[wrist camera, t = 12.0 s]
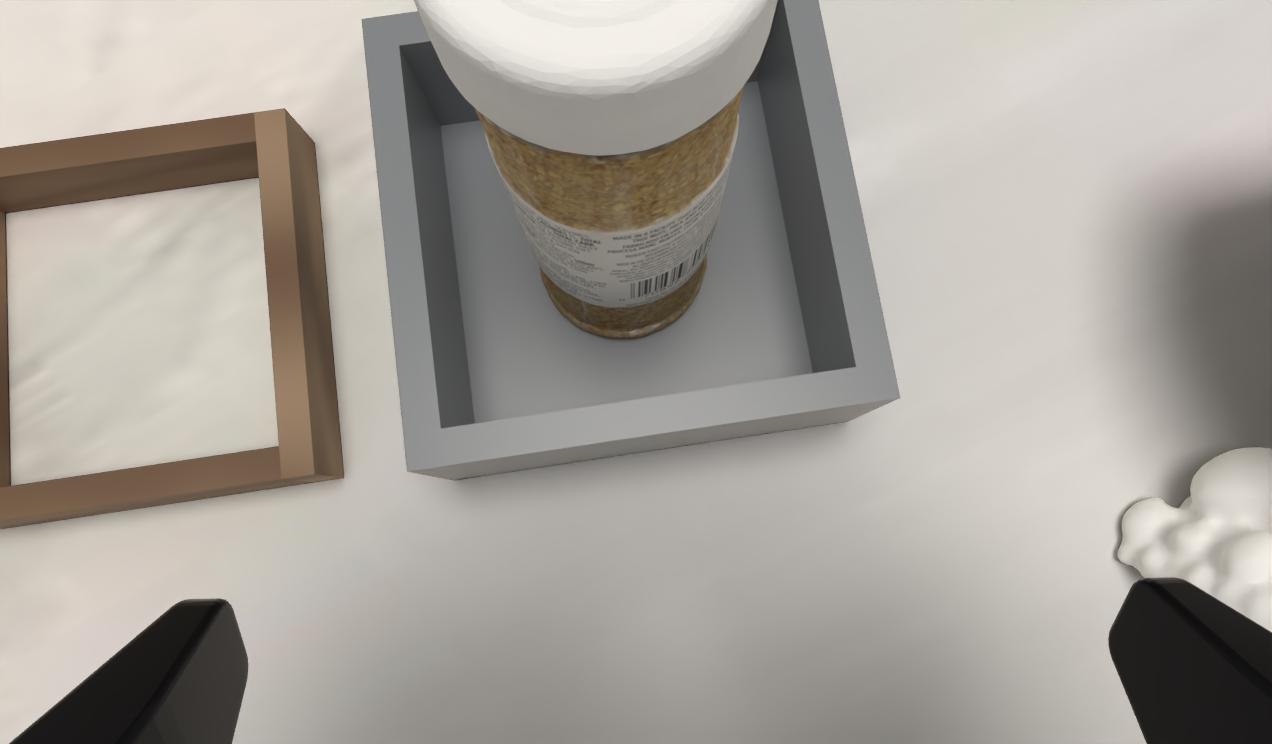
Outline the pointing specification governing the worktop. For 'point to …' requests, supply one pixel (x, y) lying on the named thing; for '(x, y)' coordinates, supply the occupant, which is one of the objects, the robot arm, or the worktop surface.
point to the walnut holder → (292, 285)
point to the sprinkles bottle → (608, 137)
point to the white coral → (1212, 533)
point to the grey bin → (628, 367)
